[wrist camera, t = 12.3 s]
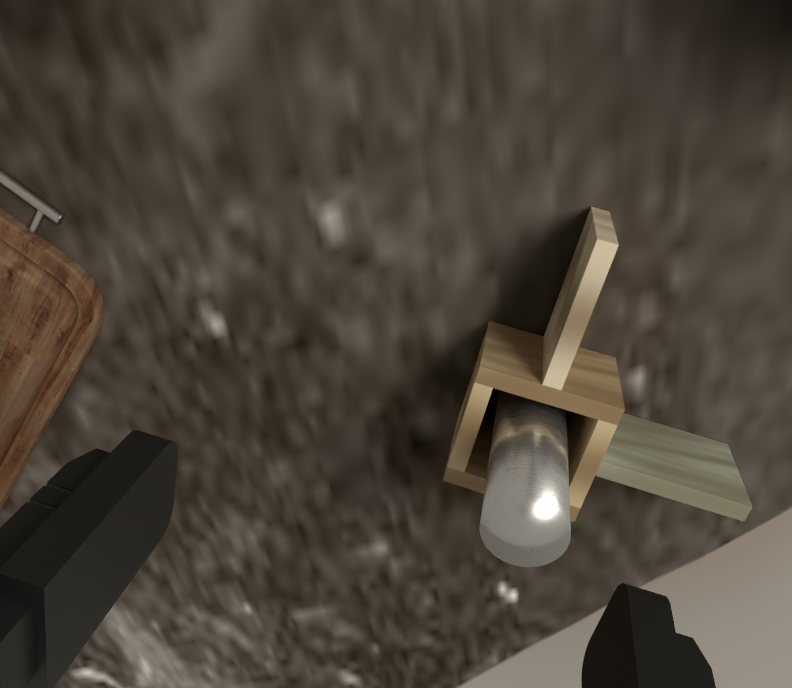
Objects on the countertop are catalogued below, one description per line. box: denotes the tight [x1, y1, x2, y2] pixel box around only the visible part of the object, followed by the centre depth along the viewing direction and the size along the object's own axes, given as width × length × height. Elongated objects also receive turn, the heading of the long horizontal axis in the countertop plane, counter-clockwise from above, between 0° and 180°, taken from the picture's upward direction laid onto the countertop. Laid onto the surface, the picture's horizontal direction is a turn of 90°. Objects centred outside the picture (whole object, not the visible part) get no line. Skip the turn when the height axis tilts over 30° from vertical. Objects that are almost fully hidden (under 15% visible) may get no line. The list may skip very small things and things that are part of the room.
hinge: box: [443, 207, 752, 522], centre depth 39 cm, size 16×16×6 cm
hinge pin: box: [480, 390, 571, 567], centre depth 38 cm, size 4×4×13 cm
